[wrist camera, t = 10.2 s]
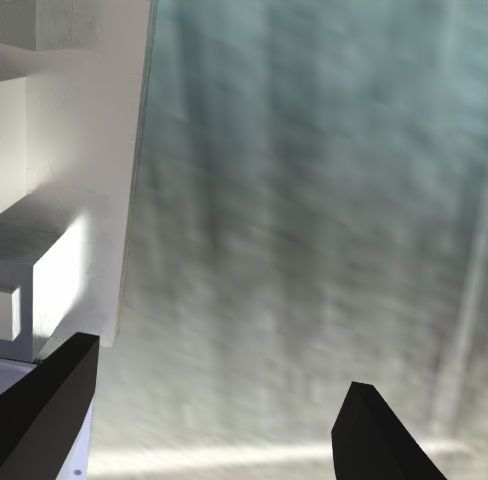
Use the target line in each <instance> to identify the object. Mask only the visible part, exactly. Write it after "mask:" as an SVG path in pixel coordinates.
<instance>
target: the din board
mask: <svg viewBox="0 0 488 480" xmlns="http://www.w3.org/2000/svg"><path fill="white" fill-rule="evenodd" d="M156 8H157V0H0V72H4V73H9V74H14V75H18V76H23V77H25V117H26V196H24V197H23V198H21V199H20V200H19V201H17V202H16V203H14V204H13V205H12V206H10V207H9V208H7V209H6V210H5V211H3V212H2V213H0V357H2V358H8V359H14V360H20V361H25V362H31V363H33V361H34V360H35V358H36V357H37V355H38V354H39V352H40V351H41V349H42V348H43V346H44V345H45V343H46V342H47V340H48V339H49V337H55V338H61V339H66V340H68V339H69V338H70V337H71V336H72V335H73V334H75V333H76V332H82V333H88V334H94V335H99V336H100V342H99V345H100V346H105V347H111V348H113V347H114V345H115V342H116V340H117V338H118V336H119V333H120V324H121V315H122V307H123V298H124V289H125V280H126V271H127V263H128V254H129V245H130V236H131V228H132V219H133V210H134V201H135V192H136V184H137V175H138V166H139V157H140V149H141V140H142V131H143V122H144V113H145V105H146V96H147V87H148V78H149V70H150V61H151V52H152V43H153V34H154V26H155V17H156Z"/></svg>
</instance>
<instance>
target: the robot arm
mask: <svg viewBox="0 0 488 480" xmlns="http://www.w3.org/2000/svg"><path fill="white" fill-rule="evenodd" d="M99 342H100V336H99V335H94V334H88V333H82V332H76V333H75V334H73V335H72V336H71V337H70V338H69V339H68V340H67V341H65V342H64V343H63V344H62V345H61V346H60V347H59V348H58V349H56V350H55V351H54V352H53V353H52V354H51V355H49V356H48V357H47V358H46V359H45V360H44V361H42V362H41V363H40V364H39V365H35V364H29V363H23V362H18V361H12V360H6V359H0V480H86V479H87V468H88V456H89V445H90V434H91V423H92V412H93V401H94V393H95V386H96V375H97V364H98V353H99ZM331 435H332V450H333V461H334V470H335V475H336V480H447V479H446V478H445V476H444V475H443V474H442V473H441V472H440V471H439V469H438V468H437V467H436V466H435V465H434V464H433V462H432V461H431V460H430V459H429V458H428V456H427V455H426V454H425V453H424V451H423V450H422V449H421V448H420V446H419V445H418V444H417V443H416V441H415V440H414V439H413V437H412V436H411V435H410V434H409V432H408V431H407V430H406V428H405V427H404V426H403V424H402V423H401V422H400V420H399V419H398V418H397V416H396V415H395V414H394V412H393V411H392V410H391V408H390V407H389V406H388V404H387V403H386V402H385V400H384V399H383V398H382V396H381V395H380V394H379V392H378V391H377V390H376V388H375V387H374V386H373V385H370V384H364V383H359V382H353V381H352V383H351V386H350V388H349V391H348V393H347V395H346V398H345V400H344V402H343V405H342V407H341V410H340V412H339V414H338V417H337V419H336V422H335V424H334V426H333V429H332V431H331Z"/></svg>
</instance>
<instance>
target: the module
mask: <svg viewBox="0 0 488 480" xmlns="http://www.w3.org/2000/svg"><path fill="white" fill-rule="evenodd" d="M24 196H26V117H25V77H23V76H18V75H14V74H9V73H4V72H0V213H2V212H3V211H5V210H6V209H7V208H9V207H10V206H12V205H13V204H14V203H16V202H17V201H19V200H20V199H21V198H23V197H24Z"/></svg>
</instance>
